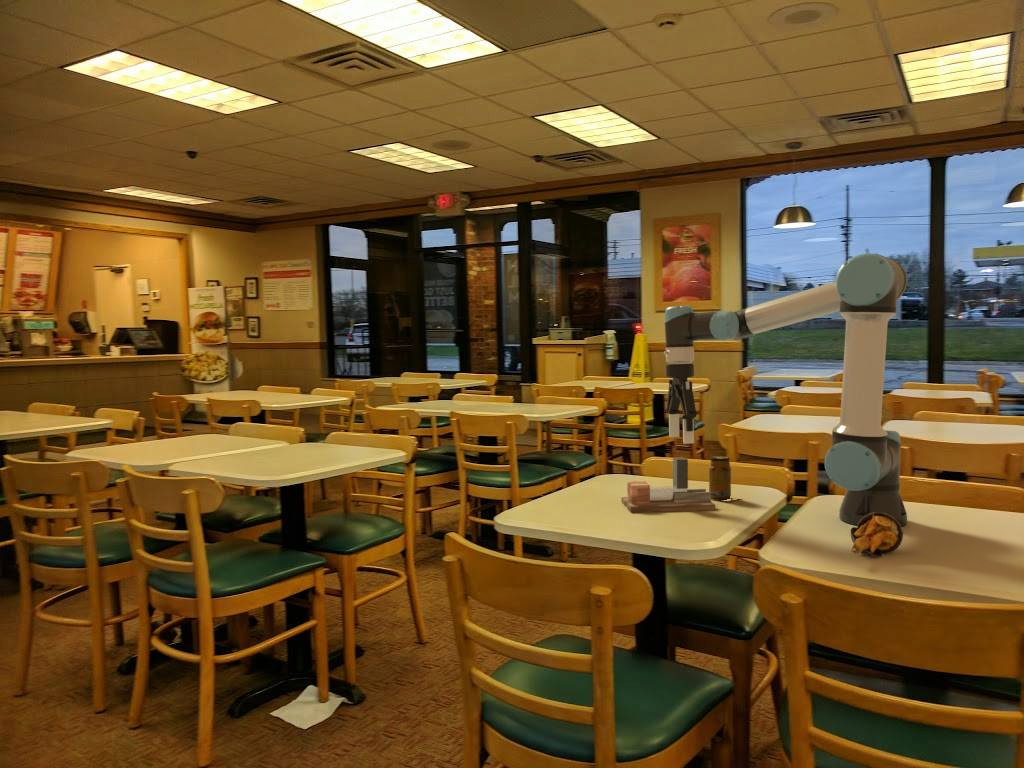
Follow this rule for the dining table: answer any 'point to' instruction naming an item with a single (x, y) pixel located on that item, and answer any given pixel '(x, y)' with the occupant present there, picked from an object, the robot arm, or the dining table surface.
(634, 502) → the rail slide board
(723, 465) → the condiment
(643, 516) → the dining table surface
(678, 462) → the mallet
